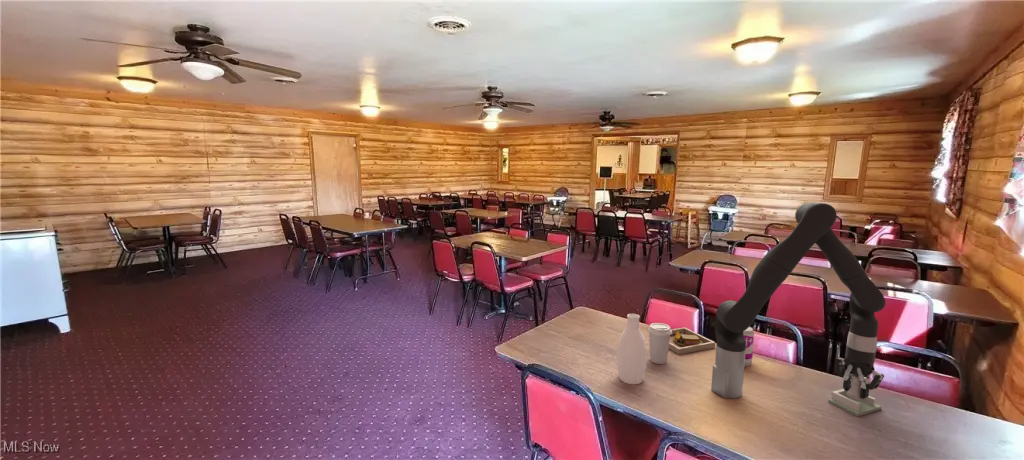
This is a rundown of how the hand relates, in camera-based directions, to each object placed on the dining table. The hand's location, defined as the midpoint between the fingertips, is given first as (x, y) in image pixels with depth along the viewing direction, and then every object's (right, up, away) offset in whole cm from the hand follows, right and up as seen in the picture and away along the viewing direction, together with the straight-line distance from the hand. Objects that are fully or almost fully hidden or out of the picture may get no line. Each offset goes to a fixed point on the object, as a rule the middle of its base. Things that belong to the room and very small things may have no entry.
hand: (855, 394), depth 141 cm
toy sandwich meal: (-34, +3, +52) cm, 62 cm away
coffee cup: (-54, 0, +34) cm, 64 cm away
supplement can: (-21, 0, +33) cm, 39 cm away
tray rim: (-37, +3, +52) cm, 64 cm away
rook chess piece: (0, -2, 0) cm, 2 cm away
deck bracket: (0, -4, +1) cm, 4 cm away
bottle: (-70, -2, +19) cm, 73 cm away
